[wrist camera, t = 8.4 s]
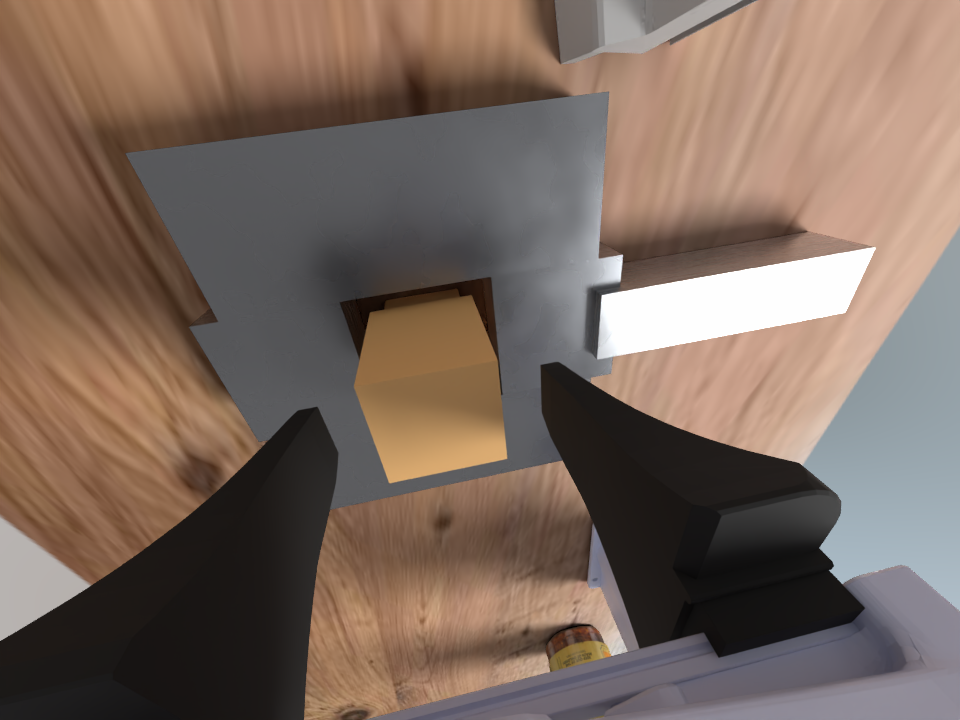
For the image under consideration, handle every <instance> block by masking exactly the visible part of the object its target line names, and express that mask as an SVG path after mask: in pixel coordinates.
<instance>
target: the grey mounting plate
mask: <svg viewBox="0 0 960 720" xmlns="http://www.w3.org/2000/svg"><path fill="white" fill-rule="evenodd" d="M608 102H609V92H602V93H594V94H586V95H578V96H570V97H562V98H555V99H547V100H539V101H531V102H523V103H515V104H507V105H500V106H492V107H484V108H476V109H468V110H460V111H452V112H445V113H437V114H429V115H421V116H413V117H405V118H398V119H390V120H382V121H374V122H366V123H358V124H350V125H343V126H335V127H327V128H319V129H311V130H303V131H295V132H288V133H280V134H272V135H264V136H256V137H248V138H240V139H233V140H225V141H217V142H209V143H201V144H193V145H185V146H178V147H170V148H162V149H154V150H146V151H138V152H131V153H125V154H126V156H127V157H128V159H129V161H130V163H131V165H132V166H133V168H134V170H135V172H136V174H137V175H138V177H139V179H140V181H141V183H142V184H143V186H144V188H145V190H146V192H147V193H148V195H149V197H150V199H151V201H152V202H153V204H154V206H155V208H156V210H157V212H158V213H159V215H160V217H161V219H162V221H163V222H164V224H165V226H166V228H167V230H168V231H169V233H170V235H171V237H172V239H173V240H174V242H175V244H176V246H177V248H178V249H179V251H180V253H181V255H182V257H183V258H184V260H185V262H186V264H187V266H188V267H189V269H190V271H191V273H192V275H193V277H194V278H195V280H196V282H197V284H198V286H199V287H200V289H201V291H202V293H203V295H204V296H205V298H206V300H207V302H208V304H209V305H210V307H211V308H210V309H209V310H208V311H207V312H206V313H205V314H203V315H202V316H201V317H200V318H199V319H198V320H196V321H195V322H194V323H193V324H192V325H191V326H190V327H189V328H190V329H191V331H192V333H193V334H194V336H195V338H196V339H197V341H198V343H199V344H200V346H201V348H202V349H203V351H204V353H205V354H206V356H207V357H208V359H209V361H210V362H211V364H212V366H213V367H214V369H215V371H216V372H217V374H218V376H219V377H220V379H221V381H222V382H223V384H224V385H225V387H226V389H227V390H228V392H229V394H230V395H231V397H232V399H233V400H234V402H235V404H236V405H237V407H238V408H239V410H240V412H241V413H242V415H243V417H244V418H245V420H246V422H247V423H248V425H249V427H250V428H251V430H252V432H253V433H254V435H255V436H256V438H257V440H258V441H259V442H261V441H266V440H269V439H270V438H271V437H272V436H273V435H274V434H275V433H276V432H277V431H278V430H279V429H280V428H281V427H282V426H283V425H284V424H285V422H286V421H287V420H288V419H289V418H290V417H291V416H292V415H293V414H294V413H296V412H297V411H298V410H302V409H307V408H313V407H318V408H319V411H320V413H321V415H322V417H323V420H324V422H325V424H326V426H327V428H328V431H329V433H330V435H331V437H332V439H333V442H334V444H335V446H336V448H337V451H338V453H339V454H338V468H337V478H336V485H335V490H334V494H333V498H332V503H331V507H330V510H331V509H335V508H340V507H345V506H349V505H354V504H359V503H364V502H368V501H373V500H378V499H382V498H387V497H392V496H397V495H401V494H406V493H411V492H416V491H420V490H425V489H430V488H434V487H439V486H444V485H449V484H453V483H458V482H463V481H467V480H472V479H477V478H482V477H486V476H491V475H496V474H500V473H505V472H510V471H515V470H519V469H524V468H529V467H533V466H538V465H543V464H548V463H552V462H557V461H562V458H561V456H560V454H559V452H558V451H557V449H556V447H555V445H554V443H553V441H552V439H551V437H550V434H549V431H548V429H547V426H546V423H545V421H544V418H543V415H542V407H541V370H540V365H542V364H547V363H553V362H560V363H561V364H563V365H565V366H566V367H568V368H569V369H570V370H572V371H573V372H575V373H576V374H578V375H579V376H581V377H582V378H584V379H585V380H587V381H588V382H590V380H591V377H596V376H601V375H606V374H611V370H612V360H613V357H614V356H619V355H624V354H630V353H635V352H640V351H645V350H651V349H656V348H661V347H666V346H672V345H677V344H682V343H687V342H693V341H698V340H703V339H709V338H714V337H719V336H724V335H730V334H735V333H740V332H745V331H751V330H756V329H761V328H766V327H772V326H777V325H782V324H787V323H793V322H798V321H803V320H809V319H814V318H819V317H824V316H830V315H835V314H840V313H845V312H846V309H847V307H848V305H849V303H850V301H851V299H852V297H853V295H854V292H855V290H856V288H857V286H858V284H859V282H860V280H861V278H862V275H863V273H864V271H865V269H866V267H867V265H868V263H869V261H870V258H871V256H872V254H873V252H874V250H875V248H876V247H872V246H868V245H864V244H859V243H855V242H851V241H847V240H842V239H838V238H834V237H830V236H826V235H821V234H817V233H813V232H804V233H798V234H792V235H786V236H780V237H774V238H768V239H762V240H756V241H751V242H745V243H739V244H733V245H727V246H721V247H715V248H709V249H703V250H697V251H691V252H685V253H679V254H673V255H667V256H661V257H655V258H649V259H644V260H638V261H632V262H626V263H622V261H623V254H621V253H619V252H617V251H615V250H614V249H612V248H610V247H608V246H606V245H604V244H603V243H601V242H599V241H600V226H601V210H602V195H603V179H604V164H605V148H606V133H607V117H608ZM480 278H482V280H483V289H484V298H485V307H486V316H487V324H488V333H489V340H490V342H491V345H492V347H493V350H494V352H495V355H496V357H497V360H498V369H499V379H500V389H501V399H502V410H503V420H504V430H505V440H506V450H507V459H504V460H500V461H495V462H490V463H485V464H480V465H475V466H471V467H466V468H461V469H456V470H451V471H447V472H442V473H437V474H432V475H427V476H423V477H418V478H413V479H408V480H403V481H398V482H394V483H389V481H388V478H387V476H386V473H385V470H384V467H383V465H382V462H381V459H380V456H379V454H378V451H377V448H376V446H375V443H374V440H373V437H372V435H371V432H370V429H369V427H368V424H367V421H366V418H365V416H364V413H363V410H362V408H361V405H360V402H359V399H358V397H357V394H356V391H355V389H354V384H355V379H356V374H357V370H358V365H359V361H360V356H361V351H362V347H363V342H364V338H365V333H366V331H365V328H364V325H363V322H362V319H361V315H360V312H359V309H358V306H357V303H356V300H355V299H360V298H366V297H372V296H378V295H384V294H390V293H396V292H402V291H408V290H414V289H420V288H426V287H432V286H438V285H444V284H450V283H456V282H462V281H468V280H474V279H480Z"/></svg>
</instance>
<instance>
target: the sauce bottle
mask: <svg viewBox="0 0 960 720" xmlns="http://www.w3.org/2000/svg"><path fill="white" fill-rule="evenodd" d="M546 653H547V656H548V660H549V664H550V666H549V668H550V672H552V671H556V670H560V669H564V668H568V667H572V666H575V665H579V664H583V663H587V662H591V661H595V660H599V659H603V658H606V657H610V656H611V654H610V651H609V649H608V647H607V645H606V644H605V643H604V641H603V639H602V636H601V634H600V633H599V631H598V630H597V629H596V628H595V627H593V626H579V627H574V628H571V629H567V630H563V631H560V632H558V633H557V634H555V635H554V636H553V637H552V639H551V640H550V641H549V642H548V644H547V646H546ZM601 717H604V715H603V716H599V717H596V718H601ZM592 719H594V718H592Z"/></svg>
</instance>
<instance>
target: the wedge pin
mask: <svg viewBox="0 0 960 720" xmlns="http://www.w3.org/2000/svg"><path fill="white" fill-rule="evenodd" d="M354 389H355V391H356V394H357V397H358V399H359V402H360V405H361V408H362V410H363V413H364V416H365V418H366V421H367V424H368V427H369V429H370V432H371V435H372V437H373V440H374V443H375V446H376V448H377V451H378V454H379V456H380V459H381V462H382V465H383V467H384V470H385V473H386V476H387V478H388V481H389V483H394V482H398V481H403V480H408V479H413V478H418V477H423V476H427V475H432V474H437V473H442V472H447V471H451V470H456V469H461V468H466V467H471V466H475V465H480V464H485V463H490V462H495V461H500V460H504V459H507V450H506V440H505V430H504V420H503V410H502V399H501V389H500V379H499V369H498V360H497V357H496V355H495V352H494V350H493V347H492V345H491V342H490V340H489V337H488V335H487V332H486V330H485V327H484V325H483V322H482V320H481V317H480V315H479V312H478V310H477V307H476V305H475V302H474V300H473V297H472V295H469V296H463V297H460V295H459V292H458V289H451V290H445V291H439V292H433V293H427V294H421V295H415V296H409V297H403V298H397V299H391V300H386V302H385V309H384V310H379V311H374V312H370V315H369V319H368V324H367V328H366V333H365V338H364V342H363V347H362V351H361V356H360V361H359V365H358V370H357V374H356V379H355V384H354Z"/></svg>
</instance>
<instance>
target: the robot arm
mask: <svg viewBox="0 0 960 720" xmlns="http://www.w3.org/2000/svg"><path fill="white" fill-rule="evenodd" d="M540 370H541V407H542V415H543V418H544V421H545V423H546V426H547V429H548V431H549V434H550V437H551V439H552V441H553V443H554V445H555V447H556V449H557V451H558V452H559V454H560V456H561V458H562V460H563V462H564V464H565V466H566V468H567V469H568V471H569V473H570V475H571V477H572V479H573V481H574V483H575V485H576V486H577V488H578V490H579V492H580V494H581V496H582V498H583V500H584V502H585V505H586V507H587V509H588V511H589V514H590V516H591V519H592V521H593V526H592V537H591V547H590V558H589V569H588V580H587V584H588V586H589V588H597V587H601V590H602V592H603V594H604V597H605V599H606V601H607V604H608V606H609V608H610V611H611V613H612V615H613V618H614V620H615V622H616V625H617V627H618V629H619V632H620V634H621V636H622V639H623V641H624V643H625V646H626V648H627V650H628V652H626V653H622V654H618V655H614V656H610V657H606V658H603V659H599V660H595V661H591V662H587V663H583V664H579V665H575V666H572V667H568V668H564V669H560V670H556V671H552V672H548V673H544V674H540V675H537V676H533V677H529V678H525V679H521V680H517V681H513V682H509V683H506V684H502V685H498V686H494V687H490V688H486V689H482V690H478V691H475V692H471V693H467V694H463V695H459V696H455V697H451V698H447V699H444V700H440V701H436V702H432V703H428V704H424V705H420V706H416V707H412V708H409V709H405V710H401V711H397V712H393V713H389V714H385V715H381V716H378V717H374V718H370V719H366V720H960V611H959V610H958V609H956V608H955V607H954V606H953V605H952V604H950V602H948V601H947V600H946V599H945V598H944V597H943V596H941V595H940V594H939V593H938V592H937V591H936V590H934V589H933V588H932V587H931V586H929V584H927V583H926V582H925V581H924V580H923V579H921V578H920V577H919V576H918V575H917V574H916V573H915V572H913V571H912V570H911V569H910V568H909V567H907V566H902V565H899V566H895V567H891V568H887V569H883V570H879V571H875V572H871V573H867V574H863V575H860V576H857V577H854V578H852V579H850V580H848V581H847V582H845V583H844V584H841V582H840V581H839V580H837V578H836V577H835V576H834V575H833V574H832V573H831V572H830V571H829V570H831V569H832V568H833V567H834V565H833V562H832V561H831V560H830V559H829V558H828V557H827V556H826V555H825V554H824V553H823V552H822V551H821V550H820V549H819V547H820V546H821V544H822V543H823V541H824V540H825V538H826V537H827V536H828V534H829V533H830V531H831V529H832V528H833V527H834V525H835V524H836V522H837V520H838V518H839V516H840V513H841V500H840V499H839V497H838V495H837V494H836V493H834V492H833V491H832V490H831V489H830V488H829V487H827V486H826V485H825V484H824V483H822V482H821V481H820V480H819V479H818V478H817V477H815V476H814V475H813V474H812V473H811V472H809V471H808V470H807V469H806V468H804V467H803V466H802V465H801V464H799V463H796V462H792V461H788V460H784V459H780V458H775V457H771V456H767V455H763V454H759V453H754V452H750V451H747V450H743V449H740V448H736V447H733V446H729V445H726V444H723V443H719V442H716V441H713V440H710V439H707V438H704V437H701V436H698V435H695V434H693V433H690V432H687V431H685V430H682V429H679V428H677V427H674V426H672V425H669V424H667V423H664V422H662V421H660V420H658V419H656V418H653V417H651V416H649V415H647V414H645V413H642V412H640V411H638V410H636V409H634V408H632V407H631V406H629V405H627V404H625V403H623V402H622V401H620V400H618V399H616V398H614V397H613V396H611V395H609V394H608V393H606V392H604V391H603V390H601V389H599V388H598V387H596V386H595V385H593V384H591V383H590V382H588V381H587V380H585V379H584V378H582V377H581V376H579V375H578V374H576V373H575V372H573V371H572V370H570V369H569V368H568V367H566V366H565V365H563V364H561V363H560V362H553V363H547V364H542V365H540ZM338 454H339V453H338V451H337V448H336V446H335V444H334V442H333V439H332V437H331V435H330V433H329V431H328V428H327V426H326V424H325V422H324V420H323V417H322V415H321V413H320V411H319V408H318V407H313V408H307V409H302V410H298V411H297V412H296V413H294V414H293V415H292V416H291V417H290V418H289V419H288V420H287V421H286V422H285V424H284V425H283V426H282V427H281V428H280V429H279V430H278V431H277V432H276V433H275V434H274V435H273V436H272V437H271V438H270V439H269V440H268V441H267V443H266V444H265V445H264V446H263V447H262V448H261V449H260V450H259V451H258V452H257V453H256V454H255V455H254V456H253V457H252V458H251V459H250V460H249V461H248V462H247V463H246V464H245V465H244V466H243V467H242V468H241V469H240V470H239V471H238V472H237V473H236V474H235V475H234V476H233V477H232V478H231V479H230V480H229V481H227V482H226V483H225V484H224V485H223V486H222V487H221V488H220V489H219V490H218V491H217V492H216V493H215V494H213V495H212V496H211V497H210V498H209V499H208V500H207V501H205V502H204V503H203V504H202V505H201V506H199V507H198V508H197V509H196V510H195V511H194V512H192V513H191V514H190V515H189V516H188V517H186V518H185V519H184V520H183V521H181V522H180V523H179V524H177V525H176V526H175V527H173V528H172V529H171V530H169V531H168V532H167V533H166V534H164V535H163V536H162V537H160V538H159V539H158V540H156V541H155V542H154V543H152V544H151V545H150V546H148V547H147V548H146V549H144V550H143V551H142V552H140V553H139V554H137V555H136V556H135V557H133V558H132V559H130V560H129V561H127V562H126V563H124V564H123V565H122V566H120V567H119V568H117V569H116V570H114V571H113V572H111V573H110V574H108V575H107V576H105V577H104V578H102V579H101V580H99V581H98V582H96V583H95V584H93V585H92V586H90V587H89V588H87V589H85V590H84V591H83V592H81V593H79V594H78V595H76V596H75V597H73V598H72V599H70V600H68V601H66V602H65V603H63V604H62V605H60V606H59V607H57V608H55V609H53V610H52V611H50V612H48V613H47V614H45V615H44V616H42V617H40V618H38V619H37V620H35V621H33V622H32V623H30V624H28V625H27V626H25V627H24V628H22V629H20V630H19V631H17V632H15V633H13V634H12V635H10V636H8V637H7V638H5V639H3V640H1V641H0V720H304V707H305V687H306V672H307V659H308V646H309V634H310V624H311V615H312V605H313V596H314V588H315V580H316V572H317V565H318V560H319V555H320V550H321V545H322V541H323V537H324V533H325V528H326V524H327V520H328V516H329V511H330V507H331V503H332V498H333V494H334V490H335V485H336V478H337V468H338ZM603 715H604V717H601V718H596V717H599V716H603ZM592 718H594V719H592Z"/></svg>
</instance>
